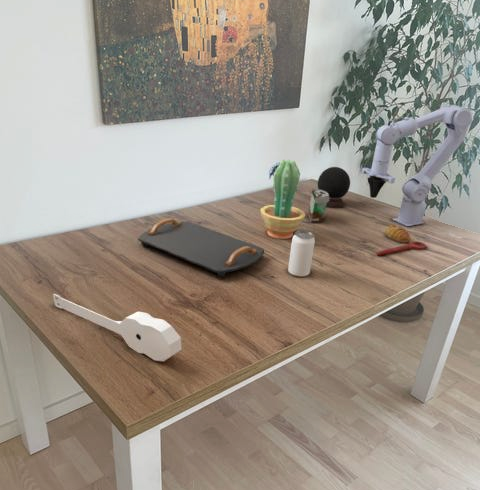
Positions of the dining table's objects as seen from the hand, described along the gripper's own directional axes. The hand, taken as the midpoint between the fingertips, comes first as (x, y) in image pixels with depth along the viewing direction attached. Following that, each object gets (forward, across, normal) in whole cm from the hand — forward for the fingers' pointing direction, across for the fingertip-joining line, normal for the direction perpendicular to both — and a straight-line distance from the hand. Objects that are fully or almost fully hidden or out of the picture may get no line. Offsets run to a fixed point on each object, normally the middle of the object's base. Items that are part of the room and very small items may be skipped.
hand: (373, 197), depth 182 cm
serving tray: (+10, +1, -74) cm, 75 cm away
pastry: (+10, +17, -3) cm, 20 cm away
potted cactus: (+10, -2, -41) cm, 42 cm away
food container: (+10, -9, -18) cm, 22 cm away
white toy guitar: (+10, +32, -112) cm, 117 cm away
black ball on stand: (+10, -22, 0) cm, 24 cm away
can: (+10, +25, -54) cm, 60 cm away
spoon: (+9, +26, -11) cm, 30 cm away
